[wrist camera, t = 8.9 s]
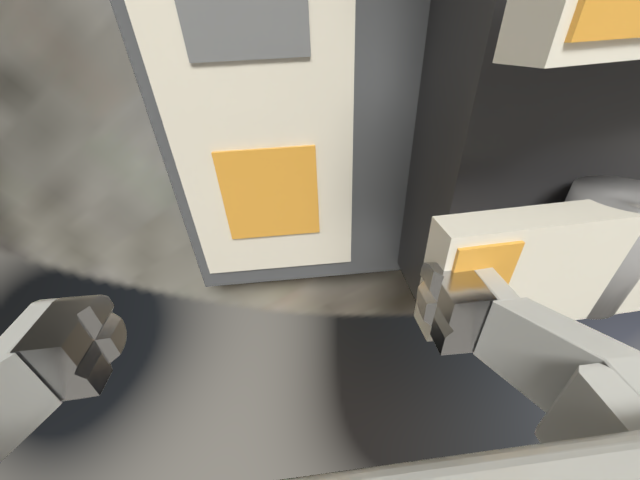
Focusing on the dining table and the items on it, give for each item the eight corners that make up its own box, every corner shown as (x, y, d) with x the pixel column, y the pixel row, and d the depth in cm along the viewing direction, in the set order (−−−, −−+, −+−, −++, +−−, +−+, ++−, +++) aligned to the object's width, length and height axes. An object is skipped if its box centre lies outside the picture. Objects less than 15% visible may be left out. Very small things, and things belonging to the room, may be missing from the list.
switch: (748, 159, 10) (867, 192, 8) (678, 251, 12) (760, 295, 10) (412, 193, 9) (453, 240, 7) (399, 287, 11) (428, 344, 9)
